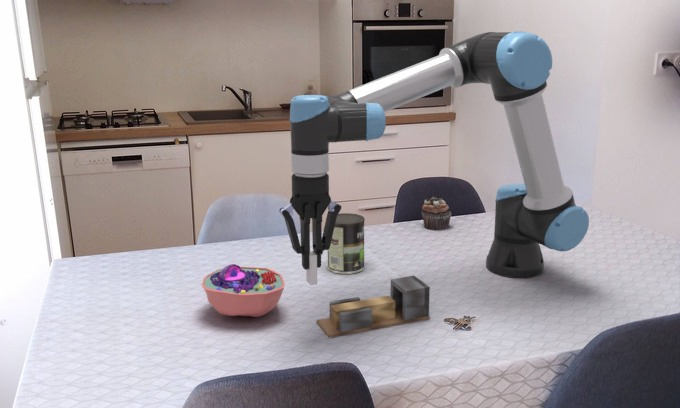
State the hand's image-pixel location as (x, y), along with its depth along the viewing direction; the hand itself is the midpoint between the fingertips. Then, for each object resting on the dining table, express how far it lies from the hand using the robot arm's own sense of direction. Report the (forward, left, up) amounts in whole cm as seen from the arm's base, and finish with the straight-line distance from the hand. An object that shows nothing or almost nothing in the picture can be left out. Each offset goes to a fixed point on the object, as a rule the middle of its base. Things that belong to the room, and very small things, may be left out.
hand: (311, 282), depth 135 cm
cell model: (+11, -15, -12) cm, 22 cm away
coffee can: (-21, -33, -12) cm, 41 cm away
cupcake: (-62, -56, -12) cm, 84 cm away
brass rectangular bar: (-12, 0, -11) cm, 16 cm away
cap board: (-14, 0, -11) cm, 18 cm away
